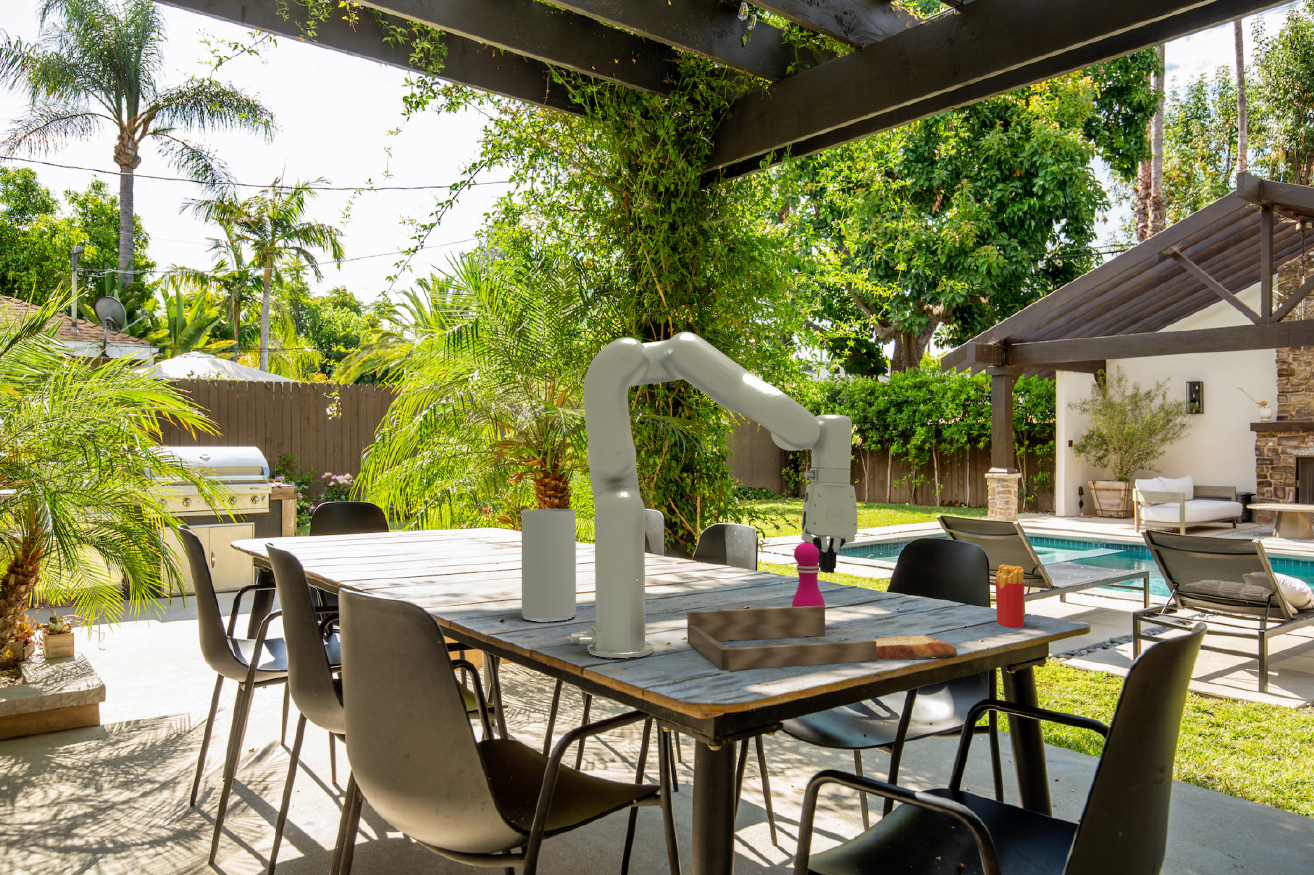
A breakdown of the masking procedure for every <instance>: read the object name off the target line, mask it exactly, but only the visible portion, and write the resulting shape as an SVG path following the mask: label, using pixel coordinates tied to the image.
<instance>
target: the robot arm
mask: <svg viewBox="0 0 1314 875" xmlns="http://www.w3.org/2000/svg"><path fill="white" fill-rule="evenodd" d="M680 380H684V381H686V382H687V383H688V384H690V385H691V386H693V387H694V388H696V389H697V390H699V392H701V393H703V394H704V395H705V396H707V397H708V398H709V399H711V400H712V401H713V402H715V403H716V404H718V406H720V407H722V408H723V409H727V410H728V411H730V412H732V413H736V414H739V415H742V416H743V417H746V418H748V419H750V420H752V421H754V422H755V423H757V424H759V425H761V426H762V427H763V428H764V429H766V430H767V431H769V432H770V436H771V439H772V441H773V442H774V444H775V445H776V446H777V447H779V448H780V449H782V450H785V451H791V452H792V451H804V450H811V464H810V469H809V470H805V471H804V472H803V473H804V474H803V475H804V479H809V482H810V483H808V484H807V486H806V488H805V489H806V490H805V495H804V499H803V504H802V513H801V531H802V534H801V540H802V541H807V542H811V543H813V544H814V546H815V547H816V548H817V550H818V551H819V563H818V565H819V570H820V571H819V572H822V573H825V574H834V573H835V569H836V568H837V553H838V552H840V549H841V548H842V547H843V546H844V545H846V544H850V543H854V542H855V540H856V537H855V536H856V535H857V533H858V523H859V522H858V504H857V497H856V496H857V495H856V491H855V486H854V485H850V484H851V461H852V459H851V458H852V432H853V431H852V430H853V425H852V423H853V422H852V419H851V418H850V416H847V415H844V414H843V415H842V414H819V415H817V416H815V415H814V414H813V413H812V412H811V411H810V410H808V409H807V408H806V407H804V406H803V405H802V404H800V403H799V402H797V401H796V400H795V399H793V398H792V397H791V396H789V395H787V394H786V393H784V391H782V390H780V389H779V388H776V387H775V386H774V385H771V384H770V383H769V382H767V381H764V380H763V379H761V378H760V377H759V376H757V375H755V374H753V373H752V372H750V371H749V370H747V369H746V368H744V367H742V366H741V365H740V364H739V363H737V362H736V361H734V360H733V359H731V358H730V357H728V356H727V355H726V354H725V353H723V352H721V351H720V350H718V349H717V348H716V347H715V346H714V345H712V344H711V343H709V341H706V340H705V339H703V338H702V337H700V336H699V335H698V334H695V333H694V332H689V331H682V332H681V331H680V332H679V333H676V334H674V335H672V337H670V339H666V340H659V341H652V342H643V343H642V342H641V341H640V340H638V339H637V338H634V337H630V336H628V337H625V336H624V337H620V338H617V339H615V340H614V341H611V342H610V343H608V344H606V346H605V347H603V348H602V349H601V350H600V351H599V352H598V353H597V354H596V355H595V356H594V358H593V359H592V360H591V363H590V364H589V366H588V369H587V372H586V374H585V377H584V381H583V382H584V383H583V406H584V407H583V409H584V410H583V411H584V417H585V418H584V419H585V420H584V421H585V429H586V436H587V446H588V448H587V460H588V470H589V476H590V481H591V482H590V484H591V491H592V498H593V505H594V571H595V572H594V573H595V574H594V575H595V576H594V577H595V580H594V582H595V583H594V584H595V586H594V587H595V589H594V592H595V593H594V594H595V607H594V608H595V626H592V627H591V630H587V632H570V643H571V644H579V645H585V644H588V645H587V646H586V647H587V648H586V649H587V652H588V651H589V652H591V653H593V654H596V655H599V656H604V657H618V658H625V659H630V658H629V657H636V658H641V657H646V656H648V655H650V654H652V653H653V652H654V644H652V643H651V642H650V641H646V570H645V569H646V566H645V565H646V564H645V553H646V552H645V550H646V549H645V546H646V544H645V543H646V523H647V522H646V507H645V503H644V502H643V499H642V497H641V492H640V487H639V486H640V485H639V478H638V471H637V462H636V461H637V450H636V446H635V442H634V439H633V433H632V429H631V428H632V427H631V420H630V408H629V400H628V396H629V395H628V394H629V390H630V389H629V388H630V387H635V386H643V385H649V384H650V385H651V384H658V383H667V382H672V381H680ZM828 537H829V540H828Z"/></svg>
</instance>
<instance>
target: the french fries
mask: <svg viewBox="0 0 1314 875" xmlns="http://www.w3.org/2000/svg"><path fill="white" fill-rule="evenodd" d="M1024 574H1025V569H1023V566H1020V565H1016V566H1013V565H1008V564H1005V563H1004V564H1000V565H998V570H997V572H996V573H995V577H996V578H995V579H994V580H995V581H994V582H995V600H996V601H995V602H996V603H995V605H996V607H995V608H996V622H997V624H999V625H1001V626H1003V627H1006V628H1011V629H1012V628H1013V629H1014V628H1015V629H1018V628H1019V629H1020V628H1024V623H1025V622H1024V620H1025V617H1024V616H1025V614H1024V613H1025V582H1024V576H1025V575H1024Z"/></svg>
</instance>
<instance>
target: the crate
mask: <svg viewBox="0 0 1314 875" xmlns="http://www.w3.org/2000/svg"><path fill="white" fill-rule="evenodd" d="M686 614H687V616H686V617H687V622H686V624H687V626H686V628H687V639H686V640H687V643H689V644H690V645H691V646H693V647H694V648H695V649H696V650H697V651H698V652H699V653H701V654H702V655H703V656H704V657H705V658H707V657H708V658H707V659H708V660H709V659H710V660H711V661H710V660H709V661H710V662H712V663H713V664H714V665H715V666H716V665H717V666H716V667H717V668H719V669H720V670H721V671H733V670H735V671H736V670H747V669H748V670H750V669H751V670H752V669H764V668H765V669H766V668H782V667H783V668H784V667H798V666H799V667H801V666H816V665H833V664H847V663H848V662H849V664H851V663H862V662H861V661H868V662H873V661H872V660H877V650H876V641H874V640H875V639H869V641H868V640H853V641H852V640H851V641H836V642H835V641H834V642H819V643H798V644H781V645H765V646H764V645H762V646H748V647H747V646H744V647H743V646H742V647H730V648H729V647H726V646H724V645H723V644H721V643H720V642H730V641H729V640H734V641H748V640H749V641H750V640H769V639H785V638H786V639H787V638H804V637H805V636H809V637H824V636H825V637H826V605H825V606H804V607H792V606H786V607H764V608H760V607H759V608H743V609H720V610H719V609H718V610H699V611H698V610H697V611H696V610H694V611H687V612H686ZM805 638H806V637H805ZM877 661H878V660H877ZM850 662H851V663H850Z"/></svg>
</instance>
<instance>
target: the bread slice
mask: <svg viewBox="0 0 1314 875" xmlns="http://www.w3.org/2000/svg"><path fill="white" fill-rule="evenodd" d="M869 640H870V639H869ZM869 640H867V641H869ZM873 640H874V641H876V650H877V659H910V660H918V659H917V658H929V659H932V658H931V657H939V658H945V657H944V656H950V657H952V656H951V655H954V656H956V655H957V654H958V651H957V649H956V647H955V646H953V645H952V644H950V643H947V642H945V641H944V642H942V641H941V640H939V639H936V638H934V637H931V636H928V635H926V634H919V635H900V636H899V635H898V636H891V637H882V638H881V637H880V638H874V639H873ZM956 653H957V654H956Z"/></svg>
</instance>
